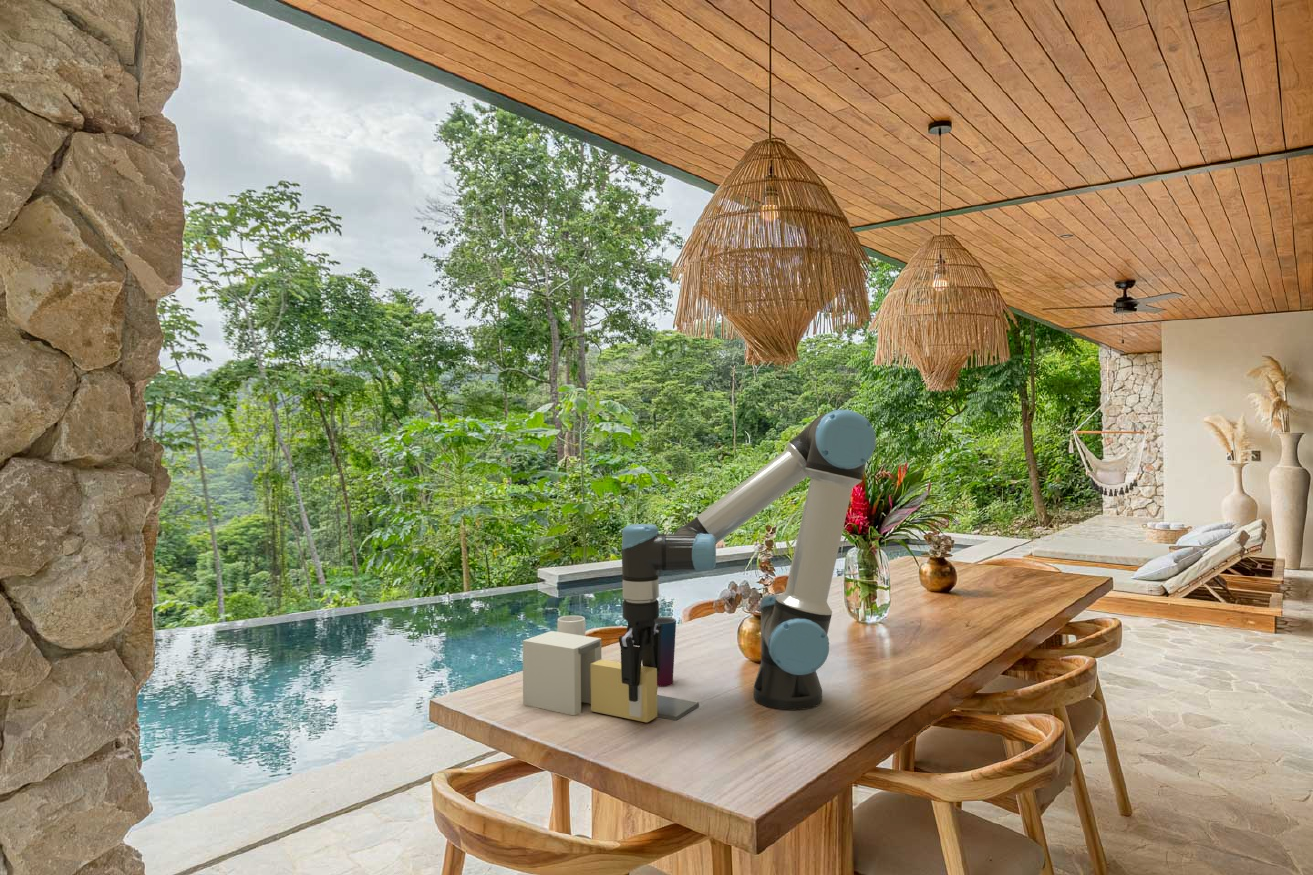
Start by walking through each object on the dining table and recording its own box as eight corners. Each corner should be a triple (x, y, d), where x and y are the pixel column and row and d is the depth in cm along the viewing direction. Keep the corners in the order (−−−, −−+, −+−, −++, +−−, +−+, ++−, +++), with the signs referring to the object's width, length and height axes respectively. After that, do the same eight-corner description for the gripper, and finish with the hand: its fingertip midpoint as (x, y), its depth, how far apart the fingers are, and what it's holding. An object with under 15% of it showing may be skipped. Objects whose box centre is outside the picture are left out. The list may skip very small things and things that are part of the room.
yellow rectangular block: (657, 716, 162) (656, 668, 162) (647, 722, 158) (646, 673, 158) (601, 705, 169) (601, 659, 169) (591, 710, 165) (590, 663, 166)
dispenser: (603, 702, 172) (603, 638, 172) (576, 715, 163) (576, 649, 164) (551, 691, 180) (551, 630, 180) (523, 704, 171) (522, 640, 171)
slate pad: (698, 706, 169) (698, 702, 169) (676, 720, 160) (676, 716, 160) (636, 694, 177) (636, 690, 177) (611, 707, 169) (611, 703, 169)
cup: (681, 680, 187) (680, 618, 187) (669, 689, 181) (669, 624, 181) (655, 677, 190) (654, 615, 190) (643, 685, 184) (642, 621, 184)
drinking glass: (581, 685, 184) (580, 622, 184) (553, 684, 185) (553, 620, 185) (589, 677, 190) (588, 615, 190) (562, 675, 192) (562, 614, 192)
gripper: (646, 590, 171) (648, 697, 171) (602, 605, 156) (603, 722, 156) (676, 593, 167) (678, 703, 167) (633, 608, 152) (635, 728, 152)
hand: (642, 712), depth 161 cm, fingers closed on yellow rectangular block, 4 cm apart
